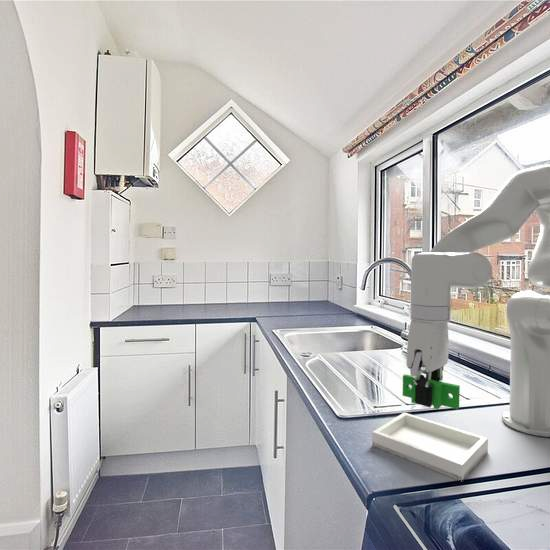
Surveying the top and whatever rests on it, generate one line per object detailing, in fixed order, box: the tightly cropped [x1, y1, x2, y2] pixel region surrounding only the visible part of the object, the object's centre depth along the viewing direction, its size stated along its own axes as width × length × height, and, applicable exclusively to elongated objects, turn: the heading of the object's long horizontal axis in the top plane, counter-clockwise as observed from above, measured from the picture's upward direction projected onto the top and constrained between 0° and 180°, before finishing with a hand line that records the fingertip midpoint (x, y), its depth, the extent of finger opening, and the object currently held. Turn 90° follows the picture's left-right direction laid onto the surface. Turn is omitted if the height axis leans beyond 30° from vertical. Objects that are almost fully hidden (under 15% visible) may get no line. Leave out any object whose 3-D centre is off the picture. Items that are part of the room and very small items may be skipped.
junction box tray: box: [371, 412, 489, 482], centre depth 78 cm, size 14×18×3 cm
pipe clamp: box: [402, 373, 461, 410], centre depth 77 cm, size 11×4×5 cm, turn 49°
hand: (428, 400), depth 77 cm, fingers closed on pipe clamp, 4 cm apart
